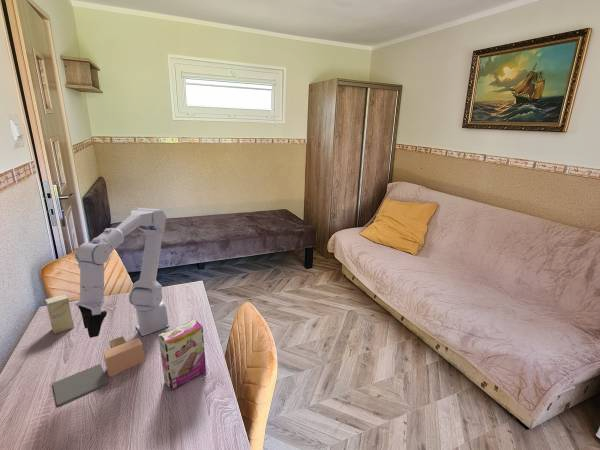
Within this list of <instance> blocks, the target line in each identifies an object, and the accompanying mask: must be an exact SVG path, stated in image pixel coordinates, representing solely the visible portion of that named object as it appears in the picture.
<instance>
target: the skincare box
mask: <svg viewBox="0 0 600 450" xmlns="http://www.w3.org/2000/svg"><path fill="white" fill-rule="evenodd" d="M45 304H46V308H47V312H48V316H49V320H50V321H49V322H50V326H51V329H52V333H53V334H54V335H55V334H57V333H61V332H64V331H67V330H70V329H73V328H75V325H74V319H73V315H72V310H71V307H70V301H69V298H68V295H67V293H64V294H59V295H56V296H53V297H49V298H45Z"/></svg>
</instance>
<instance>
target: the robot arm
mask: <svg viewBox="0 0 600 450" xmlns="http://www.w3.org/2000/svg"><path fill="white" fill-rule="evenodd" d="M166 222H167V215H166V213H165V212H164V210H163V209H161V208H145V207H138V206H137V207H135V208H133V209H132V210H130V211H129V216H127V217H126V218H125V219H124V220H123V221H122V222H121V223H120V224H118V225H117V226H116V227H109V228H108V227H107V228H105V229H103V232H102V233H100V234H99V235H98V236H96V237H94V238H92V240H91V241H89V242H84V243H82V244H80V245H79V246H78V247H77V249H76V251H75V253H74V259H75V261H76V262H77V264H78V266H77V267H78V269H79V270H80V271H79V272H80V273H79V300H78V301H75V302H74V306H76V307H77V308H78V309H79V311H80V314H81V317H82V322H83V323H82V324H83V326H84V329H86V330H87V334H88V336H89V339H92V338H96V337H99V335H100V333H101V329H102V324H103V322H104V320H105V318H106V317H107V315H108V311H107V310H102V306H103V305H104V304H105V297H104V295H105V294H104V292H105V263H107V262H108V260H109V259H110V256H111V254H112V252H113V251H114V250H115V249H117V248H118V247H119V246H120V245H122V244H123V242H124V241H125V238H124V237H125V236H127V235H128V234H130V233H131V232H132V231H134V230H135V229H137V228H138V229H139V230H140V231H141V232H143V233H144V234H145V236H146V237H145V241H144V242H145V244H144V249H143V254H142V255H143V256H142V261H141V262H142V263H141V269H140V275H139V279H138V280H136V281H135V282H134V283H132V285H131V286H132V287H131V291H130V292H129V293H128V302H129V304H130V305H133V308H134V309H135V311H136V317H137V323H138V324H136V325H135V328H136V329H137V331H138V332H139V334H140V335H141V336H142V337H145V336H147V335H149V334H153V333H155V332H158V331H160V330H162V329H165V328H167V327H169V326H170V324H169V320H168V311H167V307H166V304H165V303H164V300H163V286H162V284H161V283H159V282H158V281H157V275H158V268H159V262H160V261H159V260H160V256H161V255H160V254H161V248H162V242H163V234H164V233H165V229H166Z"/></svg>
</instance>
